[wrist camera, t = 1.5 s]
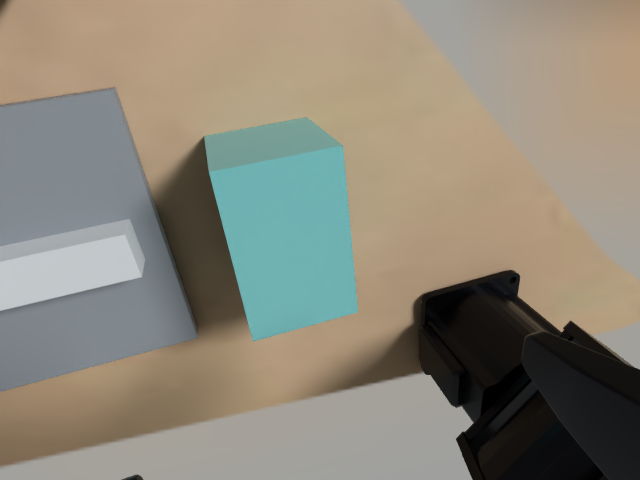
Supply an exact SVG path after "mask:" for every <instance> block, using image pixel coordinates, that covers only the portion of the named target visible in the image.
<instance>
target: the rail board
mask: <svg viewBox="0 0 640 480" xmlns="http://www.w3.org/2000/svg"><path fill="white" fill-rule="evenodd" d="M196 338H198V334H197V326H196V323H195V320H194V317H193V314H192V311H191V308H190V305H189V302H188V299H187V296H186V294H185V291H184V288H183V285H182V282H181V279H180V276H179V273H178V270H177V267H176V264H175V261H174V258H173V255H172V253H171V250H170V247H169V244H168V241H167V238H166V235H165V232H164V229H163V226H162V223H161V220H160V217H159V214H158V212H157V209H156V206H155V203H154V200H153V197H152V194H151V191H150V188H149V185H148V182H147V179H146V176H145V173H144V171H143V168H142V165H141V162H140V159H139V156H138V153H137V150H136V147H135V144H134V141H133V138H132V135H131V132H130V130H129V127H128V124H127V121H126V118H125V115H124V112H123V109H122V106H121V103H120V100H119V97H118V94H117V91H116V89H115V87H113V88H107V89H101V90H94V91H88V92H81V93H75V94H68V95H62V96H55V97H49V98H42V99H36V100H30V101H23V102H17V103H10V104H4V105H0V392H1V391H5V390H8V389H12V388H16V387H19V386H23V385H27V384H30V383H34V382H38V381H42V380H45V379H49V378H53V377H56V376H60V375H64V374H67V373H71V372H75V371H78V370H82V369H86V368H89V367H93V366H97V365H100V364H104V363H108V362H112V361H115V360H119V359H123V358H126V357H130V356H134V355H137V354H141V353H145V352H148V351H152V350H156V349H159V348H163V347H167V346H170V345H174V344H178V343H181V342H185V341H189V340H193V339H196Z"/></svg>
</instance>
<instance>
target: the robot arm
mask: <svg viewBox="0 0 640 480" xmlns="http://www.w3.org/2000/svg"><path fill="white" fill-rule="evenodd" d="M519 281H520V275H519V274H518V273H516V272H515V271H513V270H509V271H505V272H501V273H498V274H494V275H491V276H487V277H484V278H480V279H476V280H473V281H469V282H466V283H462V284H459V285H455V286H452V287H448V288H444V289H441V290H437V291H434V292H430V293H428V294H426V295H425V296H424V297H423V298H422V325H421V327H420V330H419V359H420V360H421V368H422V370H423V372H424V373H425V374H426V375H431V376H432V378H433V379H434V381H435V382H436V384H437V385H438V386H439V388H440V389H441V391H442V392H443V394H444V395H445V396H446V398H447V399H448V401H449V402H450V404H451V405H452V406H454V407H456V408H457V407H460V406H462V407H463V409H464V410H465V412H466V413H467V414H468V416H469V417H470V418H471V420H472V421H473V424H472V425H471V426H470V427H469V429H468V430H466V432H462V433H461V434H460V435H459V436H458V437H457V438H456V440H457V443H458V445H459V447H460V450H461V452H462V456H463V458H464V460H465V463H466V465H467V467H468V470H469V472H470V475H471V477H472V479H473V480H640V370H639V369H637V368H634V367H633V366H632V365H631V364H629V363H628V362H627V361H625V360H624V359H623V358H621V357H620V356H619V355H617V354H616V353H615V352H613V351H612V350H611V349H610V348H608V347H607V346H605V345H604V344H602V343H601V342H600V341H598V340H597V339H596V338H594V337H593V336H591V335H590V334H589V333H587V332H586V331H584V330H583V329H582V328H580V327H579V326H577V325H576V324H575V323H573V322H572V321H570V322H569V323H568V324H567V325H566V326H565V327H564V328H563V329H564V331H563V332H560V331H559V330H558V329H557V328H556V327H554V326H553V325H552V324H551V323H550V322H548V321H547V320H546V319H545V318H543V317H542V316H541V315H540V314H539V313H537V312H536V311H535V310H534V309H533V308H531V307H530V306H529V305H528V304H526V303H525V302H524V301H523V300H522V299H520V298H519V297H518V296H517V295H518V288H519ZM431 300H432V301H431ZM430 301H431V302H430ZM429 302H430V303H429ZM122 480H143V479H142V477H141V476H140V475H134V476H131V477H128V478H125V479H122Z"/></svg>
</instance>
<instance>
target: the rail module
mask: <svg viewBox="0 0 640 480" xmlns="http://www.w3.org/2000/svg"><path fill="white" fill-rule="evenodd" d="M204 140H205V147H206V155H207V162H208V170H209V175H210V179H211V182H212V186H213V190H214V194H215V198H216V202H217V205H218V209H219V213H220V217H221V221H222V225H223V228H224V232H225V236H226V240H227V244H228V248H229V251H230V255H231V259H232V263H233V267H234V271H235V275H236V278H237V282H238V286H239V290H240V294H241V298H242V301H243V305H244V309H245V313H246V317H247V321H248V324H249V328H250V332H251V336H252V340H253V341H256V340H260V339H263V338H267V337H271V336H274V335H278V334H281V333H285V332H289V331H292V330H296V329H299V328H303V327H306V326H310V325H314V324H317V323H321V322H324V321H328V320H331V319H335V318H339V317H342V316H346V315H349V314H353V313H356V312H358V307H357V296H356V285H355V274H354V263H353V252H352V241H351V230H350V219H349V208H348V197H347V185H346V174H345V163H344V152H343V145H342V144H340V143H339V142H338V141H336V140H335V139H334V138H333V137H331V136H330V135H329V134H327V133H326V132H325V131H324V130H322V129H321V128H320V127H318V126H317V125H316V124H315V123H313V122H312V121H311V120H310V119H308V118H307V117H306V118H301V119H295V120H290V121H284V122H279V123H273V124H268V125H262V126H257V127H251V128H246V129H240V130H235V131H229V132H224V133H219V134H213V135H208V136H204Z"/></svg>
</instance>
